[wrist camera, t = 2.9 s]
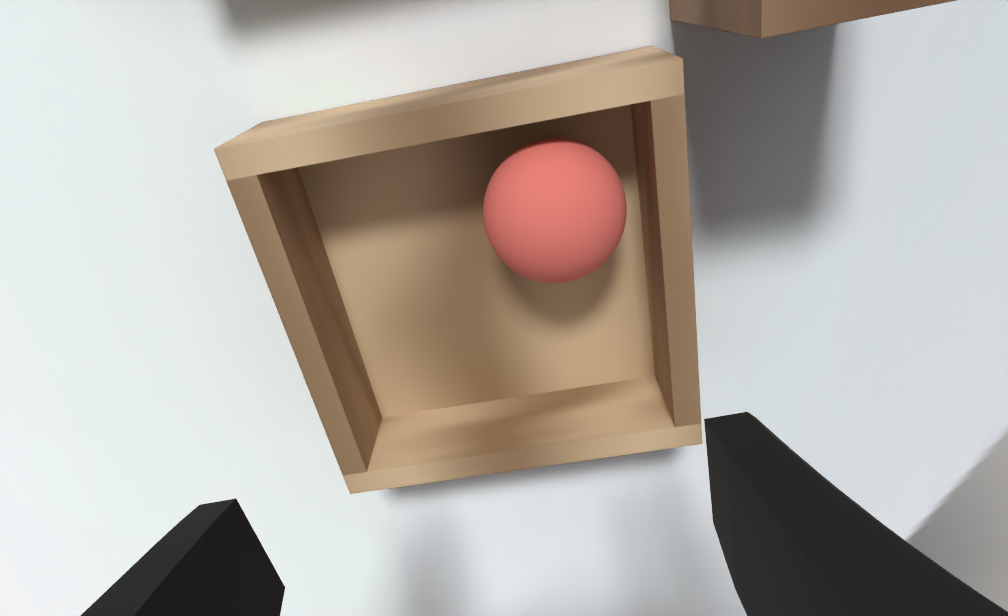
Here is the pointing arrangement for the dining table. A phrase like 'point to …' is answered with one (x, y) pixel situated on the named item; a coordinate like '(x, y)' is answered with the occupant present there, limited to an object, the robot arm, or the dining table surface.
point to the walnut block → (783, 13)
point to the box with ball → (477, 274)
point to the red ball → (554, 210)
